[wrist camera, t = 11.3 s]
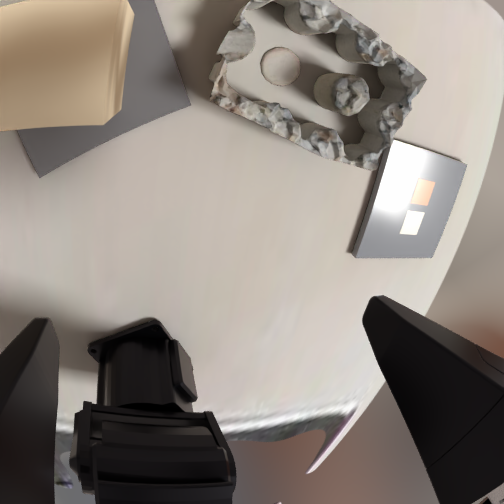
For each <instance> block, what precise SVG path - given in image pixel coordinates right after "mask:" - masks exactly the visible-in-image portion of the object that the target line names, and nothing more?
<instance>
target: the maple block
mask: <svg viewBox="0 0 504 504" xmlns="http://www.w3.org/2000/svg"><path fill="white" fill-rule="evenodd" d="M134 15H135V14H134V12H133V10H132V8H131V6H130V4H129V2H128V0H28V1H23V2H18V3H14V4H10V5H6V6H2V7H0V131H9V130H19V129H30V128H42V127H59V126H83V125H104V124H105V123H106V122H108V121H109V120H110V119H111V118H112V117H113V116H114V115H116V114H117V113H118V112H119V111H120V110H121V108H122V97H123V88H124V79H125V71H126V63H127V56H128V50H129V43H130V37H131V31H132V26H133V20H134Z"/></svg>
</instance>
